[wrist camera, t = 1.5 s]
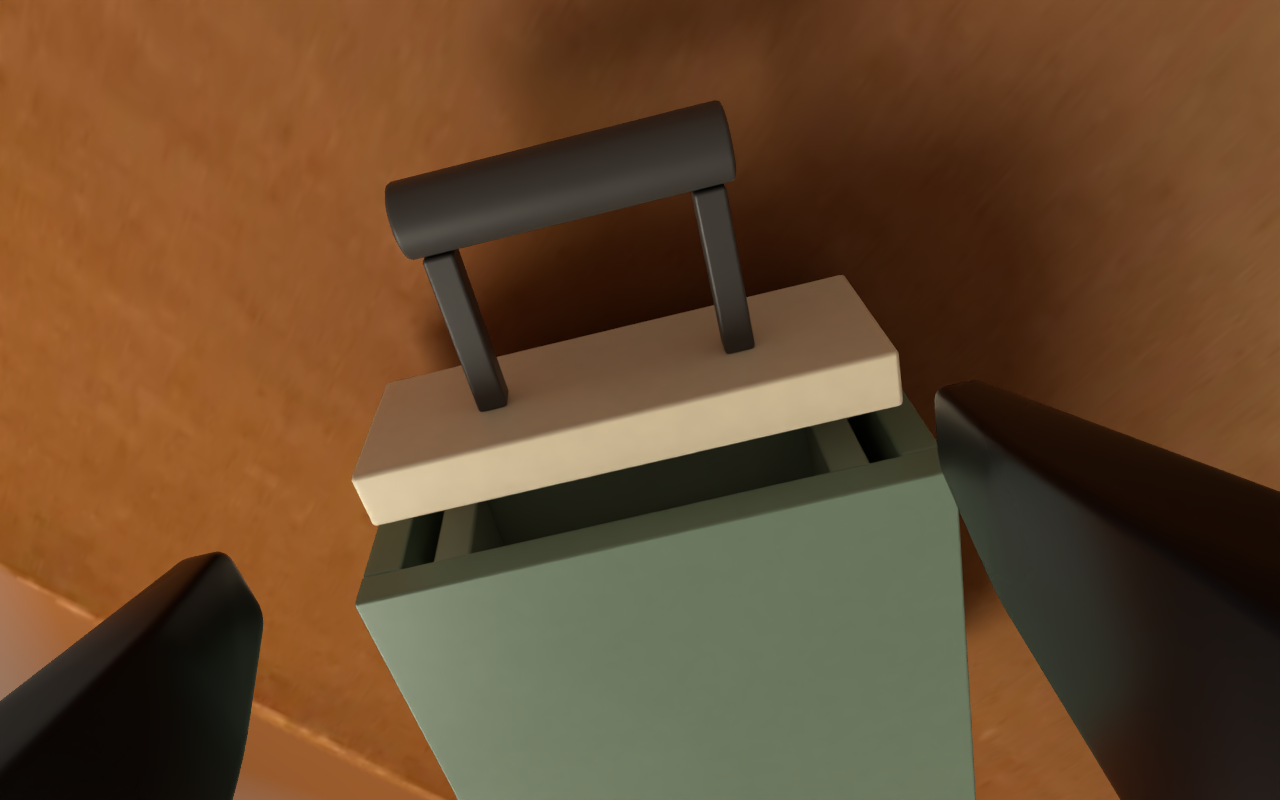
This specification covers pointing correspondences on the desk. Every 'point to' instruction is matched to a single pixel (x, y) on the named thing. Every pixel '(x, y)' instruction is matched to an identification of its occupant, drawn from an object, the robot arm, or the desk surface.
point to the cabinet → (699, 643)
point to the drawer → (613, 358)
